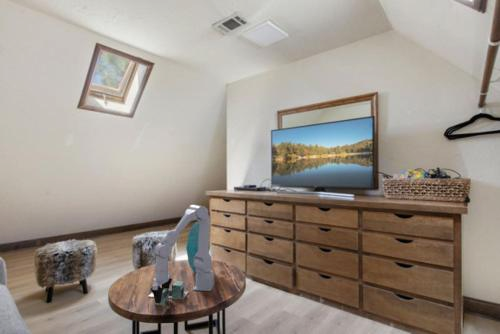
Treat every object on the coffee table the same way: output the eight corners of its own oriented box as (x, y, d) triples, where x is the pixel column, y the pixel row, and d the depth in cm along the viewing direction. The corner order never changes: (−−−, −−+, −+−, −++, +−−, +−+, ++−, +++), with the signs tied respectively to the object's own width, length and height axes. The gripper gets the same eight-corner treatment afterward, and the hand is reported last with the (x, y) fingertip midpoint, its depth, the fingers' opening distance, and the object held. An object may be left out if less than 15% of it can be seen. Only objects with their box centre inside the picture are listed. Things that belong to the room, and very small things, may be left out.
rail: (188, 292, 132) (188, 280, 132) (183, 299, 125) (183, 286, 125) (154, 290, 134) (155, 279, 134) (148, 297, 127) (148, 284, 127)
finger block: (168, 300, 125) (168, 288, 125) (164, 305, 120) (164, 293, 120) (159, 299, 125) (159, 288, 125) (154, 304, 120) (154, 292, 120)
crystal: (207, 275, 154) (207, 224, 155) (184, 275, 154) (184, 224, 155) (210, 268, 166) (211, 220, 167) (189, 267, 166) (189, 220, 167)
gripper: (160, 263, 130) (160, 291, 130) (146, 275, 116) (145, 306, 116) (174, 264, 130) (174, 291, 129) (161, 275, 115) (161, 306, 115)
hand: (161, 298), depth 122 cm, fingers open, 7 cm apart
